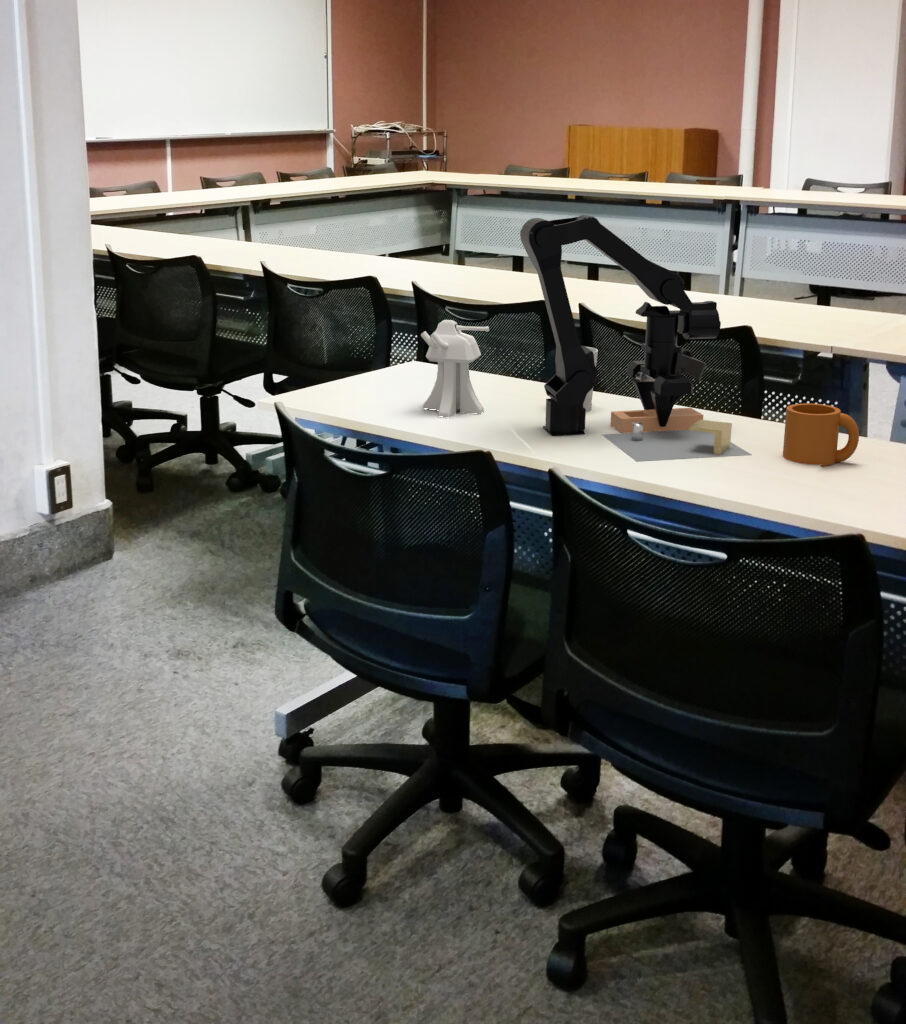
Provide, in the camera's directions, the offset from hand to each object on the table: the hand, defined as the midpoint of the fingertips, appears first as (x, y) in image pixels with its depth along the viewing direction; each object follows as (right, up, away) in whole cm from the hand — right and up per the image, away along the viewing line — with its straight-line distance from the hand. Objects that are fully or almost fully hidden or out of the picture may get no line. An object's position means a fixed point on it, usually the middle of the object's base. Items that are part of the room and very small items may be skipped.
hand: (656, 422), depth 224 cm
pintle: (-5, -4, -9) cm, 11 cm away
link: (0, -1, 0) cm, 1 cm away
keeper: (+6, -6, -15) cm, 17 cm away
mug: (+24, -8, -20) cm, 33 cm away
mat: (+1, -5, -12) cm, 13 cm away
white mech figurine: (-38, +3, +14) cm, 40 cm away
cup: (-14, +4, +16) cm, 21 cm away
